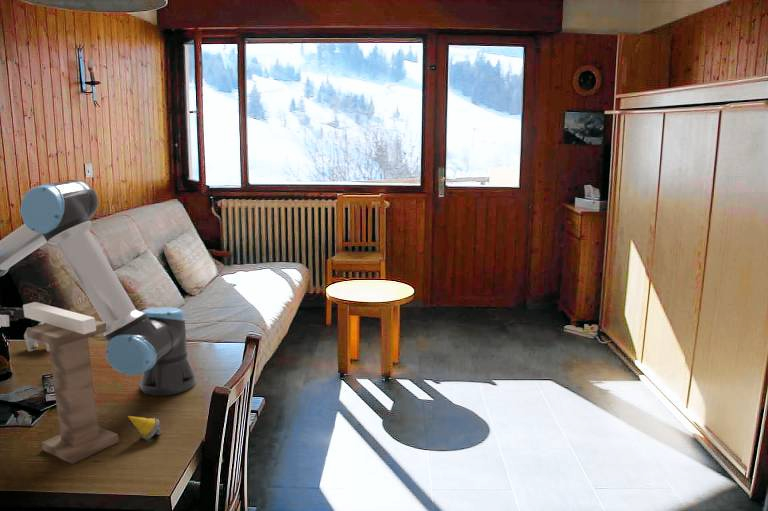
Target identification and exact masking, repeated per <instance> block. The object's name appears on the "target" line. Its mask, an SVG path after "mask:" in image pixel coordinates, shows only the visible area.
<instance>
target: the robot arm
mask: <svg viewBox="0 0 768 511" xmlns="http://www.w3.org/2000/svg"><path fill="white" fill-rule="evenodd" d="M98 208H99V198H98V193H97V192H96V190H95V189H94V187H92V186H91V185H90V184H88V183H87V182H84V181H82V180H78V179H69V180H64V181H63V180H62V181H59V182H57V181H56V182H50V183H43V184H41V185H37V186H34V187H32V188H30V189H29V190H28V191H26V192H25V194H24V195H23V197H22V200H21V204H20V217H21V219H22V221H23V224H22V225H21V226H19V227H18V228H16V229H14V231H12V232H10V233H9V234H8V235H6V236H4V237H3V238H2V239H0V277H2V276H5V274H7V273H8V272H9V270H10V268H11V267H12V266H15V265H16V264H17V263H19V262H20V261H21V260H23V259H24V258H26V257H27V256H28V255H30V254H32V253H33V252H35V251H36V250H37V249H39V248H41V247H42V246H44V245H45V244H49V245H52V246H53V245H54V246H56V247H57V248H58V250H59V251H60V254H61V255H62V256H63V258H64V260H65V261H66V263H67V265H68V267H69V268H70V270H71V271H72V273H73V274H74V276H75V277H76V279H77V281H78V283H79V284H80V286H81V288H82V290H83V291H84V293H85V295H86V296H87V298H88V299H89V301H90V303H91V304H92V307H93V308H94V310H95V311H96V313H97V315H98V316H99V318H100V319H101V322H104V323H106V328H107V331H106V332H103V337H104V338H105V340H106V342H107V345H106V348H105V349H106V351H105V357H106V360H107V362H108V364H109V365H110V366H111V368H113V369H114V370H115V371H117V372H119V373H121V374H122V375H127V376H137V375H140V374H141V379H140V390H141V392H142V393H144V394H145V395H147V396H148V395H149V396H154V397H155V396H156V397H158V396H159V397H163V396H166V397H167V396H172V395H177V394H180V393H185V392H186V391H189V390H190V389H192V388H194V386H195V385H196V382H197V380H196V373H195V371H194V368H193V367H192V364H191V361H190V360H189V356H188V346H187V334H186V331H187V330H186V319H185V314H184V311H183V309H180V308H178V307H174V306H173V307H172V306H171V307H170V306H169V307H168V306H162V307H161V306H160V307H150V308H146V309H145V308H144V309H143V310H141V311H140V310H138V309H137V308H136V307H135V305H134V304H133V301H132V300H131V298H130V296H129V294H128V293H127V292H126V290H125V288H124V286H123V285H122V284H121V281H120V280H119V278H118V276H117V274H116V273H115V271H114V270H113V268H112V266H111V265H110V263H109V261H108V260H107V258H106V256H105V255H104V253H103V251H102V249H101V247H100V246H99V244H98V243H97V241H96V239H95V237H94V236H93V234H92V233H91V231H90V229H91V226H92V221H91V218H93V217H94V216H95V214H96V213H97V210H98ZM12 316H13V317H12ZM19 319H20V320H21V319H27V318H26V317H24V310H23V307H6V306H2V305H1V304H0V327H6V328H7V327H10V322H14V321H15V322H16V321H18V320H19Z"/></svg>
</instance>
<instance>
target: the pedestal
mask: <svg viewBox="0 0 768 511" xmlns="http://www.w3.org/2000/svg"><path fill="white" fill-rule="evenodd" d="M95 324H96V331H93V332H90V333H87V334H81V333H77V332H74V331H71V330H67V329H64V328H60V327H57V326H54V325H50V324H47V323H44V324H41V325H38V324H37V325H35V326H31V327H27V328H26V330H27V337H29V338H32V339H35V340H38V341H37V342H39V341H41V342H40V343H43V342H44V343H48V344H49V350H50V351H49V356H50V364H51V366H50V367H51V371H52V381H53V387H54V388H53V389H54V396H55V403H56V411H57V419H58V426H59V427H58V428H59V434H57V435H55V436H53V437H50V438H49V439H46V440H43V441H42V442H41V447H42V451H44V452H46V453H49V454H51V455H52V456H54V457H56V458H59V459H61V460H63V461H65V462H67V463H70V464H72V465H74V464H75V463H77V462H79V461H82V460H84V459H86V458H88V457H90V456H93V455H94V454H96V453H98V452H100V451H103V450H105V449H106V448H109V447H111V446H114V445H116V444H117V443H119V442H120V440H119V434H118V433H115V432H113V431H111V430H108V429H107V428H103V427H102V426H99V424H98V422H99V421H98V412H97V407H96V406H97V405H96V397H95V395H96V394H95V389H94V388H95V386H94V380H93V372H92V369H93V368H92V363H91V355H90V354H91V353H90V344H89V343H90V342H89V338H90V337H93V336H96V335H99V334H104V332H106V331H107V328H106V323H104V322H103V321H100V320H96V319H95ZM26 330H25V331H26ZM44 343H43V344H44Z"/></svg>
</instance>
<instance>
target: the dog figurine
mask: <svg viewBox="0 0 768 511" xmlns="http://www.w3.org/2000/svg"><path fill="white" fill-rule="evenodd" d="M41 324H45V323H43V322H39V323H38V324H37V325H41ZM23 338H24V340H25V344H26V349H27V352H33V351H34V350H33V348H39V345H38V342H40V343H42V344H44V346H45V349H46V352H49V353H50V350H49V344H48V343H44V342H41V341H38V340H35V339H32V338H29V337H27V330H25V332H24V334H23ZM32 346H33V348H32Z"/></svg>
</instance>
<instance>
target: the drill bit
mask: <svg viewBox="0 0 768 511" xmlns="http://www.w3.org/2000/svg"><path fill="white" fill-rule="evenodd" d="M127 418H128V419H129V420H130V421H131V423H132V424H133V425H134V427H135V428H136V429H137V430H138V432H139V433H140V436H141V438H142V439H144V440H146V441H147V440H150V439H151V438H152V437H154V435H155V436H156V435H157V436H159V435H162V434H161V432H162V429H161V428H160V427H159V426H160V419H159V418H156V417H151V418H147V417H141V416H131V415H128V416H127Z"/></svg>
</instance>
